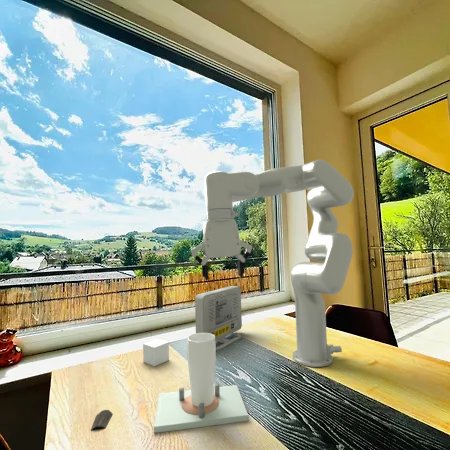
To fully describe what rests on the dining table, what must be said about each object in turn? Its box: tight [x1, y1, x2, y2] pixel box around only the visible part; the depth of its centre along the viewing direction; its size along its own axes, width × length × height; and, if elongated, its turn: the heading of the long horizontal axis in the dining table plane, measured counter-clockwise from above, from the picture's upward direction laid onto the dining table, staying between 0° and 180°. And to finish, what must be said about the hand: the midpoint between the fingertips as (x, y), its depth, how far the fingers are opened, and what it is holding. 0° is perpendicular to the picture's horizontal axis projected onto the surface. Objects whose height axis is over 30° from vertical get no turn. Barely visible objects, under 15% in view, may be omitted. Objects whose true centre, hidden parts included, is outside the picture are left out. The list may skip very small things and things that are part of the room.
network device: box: [194, 285, 243, 351], centre depth 110 cm, size 26×9×20 cm, turn 144°
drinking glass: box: [186, 332, 217, 407], centre depth 65 cm, size 7×7×15 cm
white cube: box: [142, 338, 170, 367], centre depth 92 cm, size 6×6×6 cm
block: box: [90, 409, 114, 431], centre depth 61 cm, size 4×6×2 cm, turn 11°
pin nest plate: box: [153, 383, 249, 434], centre depth 65 cm, size 20×13×4 cm, turn 99°
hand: (223, 277), depth 76 cm, fingers open, 9 cm apart
